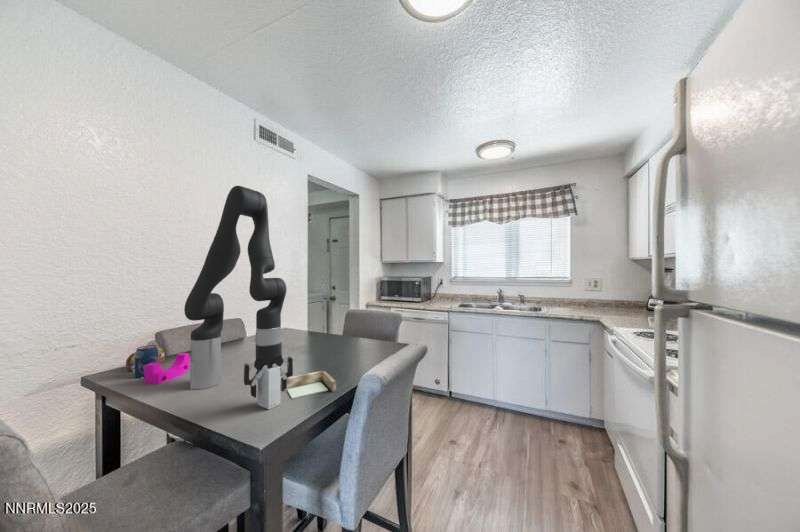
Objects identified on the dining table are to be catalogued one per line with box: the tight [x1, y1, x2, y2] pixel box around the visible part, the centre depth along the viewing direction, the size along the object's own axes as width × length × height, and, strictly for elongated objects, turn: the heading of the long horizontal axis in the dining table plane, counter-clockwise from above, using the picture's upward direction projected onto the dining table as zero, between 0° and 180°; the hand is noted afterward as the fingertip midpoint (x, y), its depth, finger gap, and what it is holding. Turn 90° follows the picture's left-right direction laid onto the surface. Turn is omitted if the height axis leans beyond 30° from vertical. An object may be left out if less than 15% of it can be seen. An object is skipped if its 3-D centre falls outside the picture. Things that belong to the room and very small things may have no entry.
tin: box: [125, 346, 167, 372], centre depth 124 cm, size 15×3×8 cm, turn 169°
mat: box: [286, 381, 329, 400], centre depth 102 cm, size 12×8×1 cm, turn 122°
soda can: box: [134, 344, 158, 379], centre depth 115 cm, size 7×7×12 cm
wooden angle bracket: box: [280, 370, 337, 393], centre depth 102 cm, size 16×13×4 cm
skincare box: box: [257, 366, 281, 410], centre depth 91 cm, size 6×4×12 cm
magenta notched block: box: [143, 352, 190, 385], centre depth 114 cm, size 15×6×8 cm, turn 170°
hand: (269, 393), depth 91 cm, fingers open, 7 cm apart
